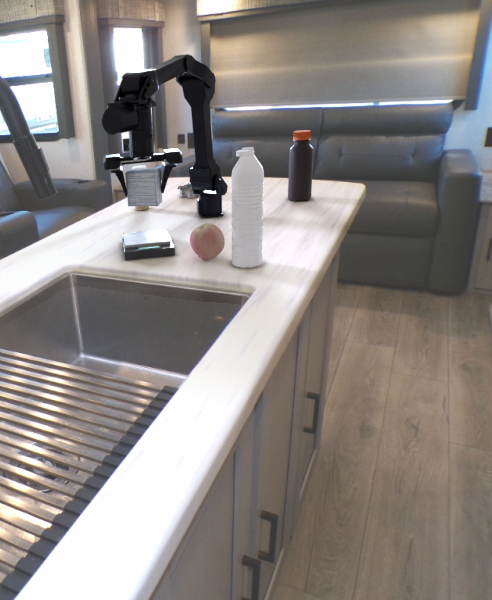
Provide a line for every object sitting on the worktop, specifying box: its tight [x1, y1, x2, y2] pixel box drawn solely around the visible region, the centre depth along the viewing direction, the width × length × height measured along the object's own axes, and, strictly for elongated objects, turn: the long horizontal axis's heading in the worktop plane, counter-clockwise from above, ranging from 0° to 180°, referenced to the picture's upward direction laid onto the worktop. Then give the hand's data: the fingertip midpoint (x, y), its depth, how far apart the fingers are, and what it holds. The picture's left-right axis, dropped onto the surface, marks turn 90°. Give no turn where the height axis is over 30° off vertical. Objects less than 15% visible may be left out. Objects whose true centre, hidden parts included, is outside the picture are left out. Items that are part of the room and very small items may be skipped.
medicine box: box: [124, 167, 163, 207], centre depth 132 cm, size 8×4×9 cm, turn 71°
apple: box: [189, 222, 226, 260], centre depth 123 cm, size 8×8×8 cm
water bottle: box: [230, 146, 265, 269], centre depth 113 cm, size 9×6×25 cm
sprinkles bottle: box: [131, 164, 150, 211], centre depth 169 cm, size 5×5×14 cm
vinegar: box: [287, 129, 315, 202], centre depth 161 cm, size 7×7×20 cm
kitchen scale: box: [121, 228, 176, 261], centre depth 134 cm, size 12×14×3 cm
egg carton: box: [177, 182, 199, 199], centre depth 183 cm, size 11×8×4 cm
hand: (144, 194), depth 133 cm, fingers closed on medicine box, 9 cm apart
